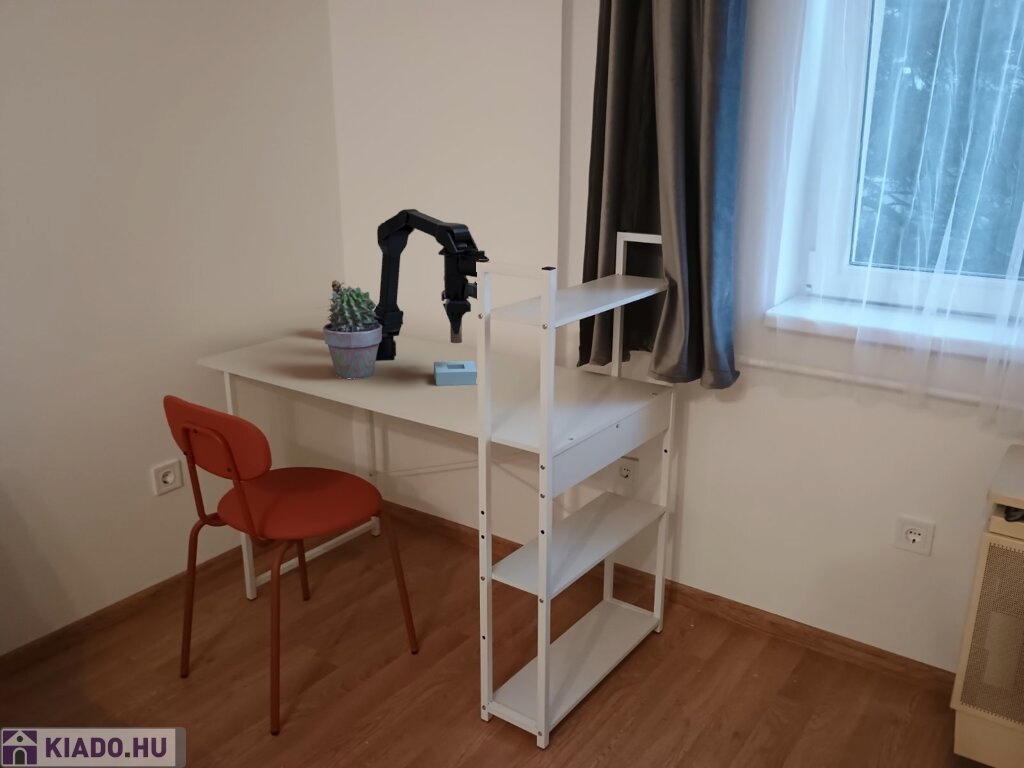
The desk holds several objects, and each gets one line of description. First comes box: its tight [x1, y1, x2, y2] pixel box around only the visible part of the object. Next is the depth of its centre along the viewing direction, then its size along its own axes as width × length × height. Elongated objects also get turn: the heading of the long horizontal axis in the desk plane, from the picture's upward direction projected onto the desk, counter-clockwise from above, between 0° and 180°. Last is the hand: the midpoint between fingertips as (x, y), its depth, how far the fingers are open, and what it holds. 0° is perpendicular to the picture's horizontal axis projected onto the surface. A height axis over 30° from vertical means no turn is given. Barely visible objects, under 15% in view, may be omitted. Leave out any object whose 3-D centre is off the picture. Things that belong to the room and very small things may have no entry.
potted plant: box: [313, 280, 385, 380], centre depth 236 cm, size 18×20×25 cm
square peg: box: [449, 320, 463, 344], centre depth 233 cm, size 3×3×9 cm
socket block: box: [433, 360, 478, 387], centre depth 236 cm, size 11×11×4 cm
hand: (455, 332), depth 234 cm, fingers closed on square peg, 3 cm apart
